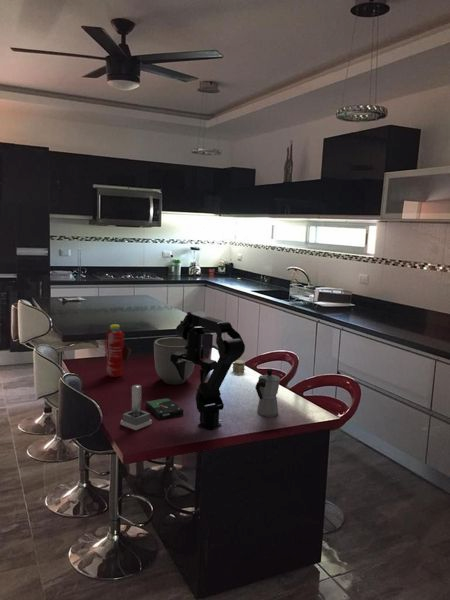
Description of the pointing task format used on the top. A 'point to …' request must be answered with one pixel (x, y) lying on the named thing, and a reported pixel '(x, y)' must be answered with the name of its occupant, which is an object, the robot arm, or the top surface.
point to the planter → (162, 359)
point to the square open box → (136, 420)
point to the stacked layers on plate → (238, 366)
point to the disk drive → (164, 408)
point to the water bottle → (115, 351)
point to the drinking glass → (136, 400)
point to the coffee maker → (267, 394)
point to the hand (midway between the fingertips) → (192, 382)
